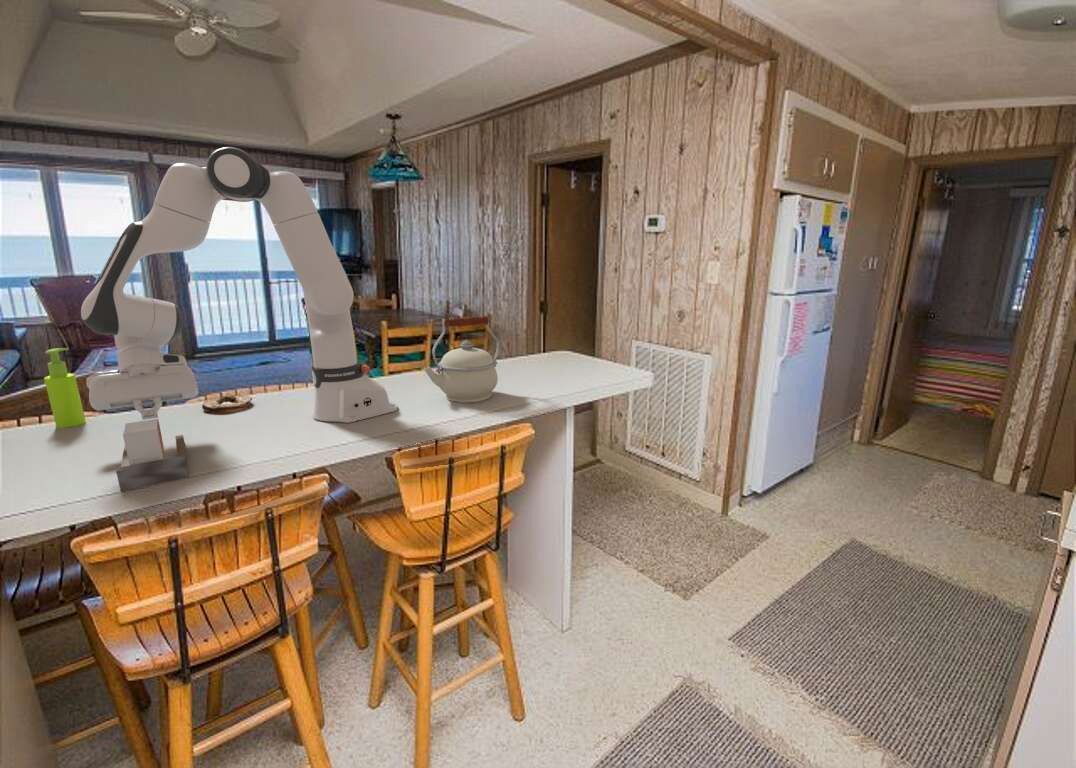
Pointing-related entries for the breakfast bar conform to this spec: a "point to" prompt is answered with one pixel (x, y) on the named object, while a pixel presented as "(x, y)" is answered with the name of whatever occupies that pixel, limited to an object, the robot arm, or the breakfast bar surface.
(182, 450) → the guide channel
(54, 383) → the soap dispenser
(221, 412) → the brown speckled ring
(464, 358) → the kettle
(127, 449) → the small box
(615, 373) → the breakfast bar surface
